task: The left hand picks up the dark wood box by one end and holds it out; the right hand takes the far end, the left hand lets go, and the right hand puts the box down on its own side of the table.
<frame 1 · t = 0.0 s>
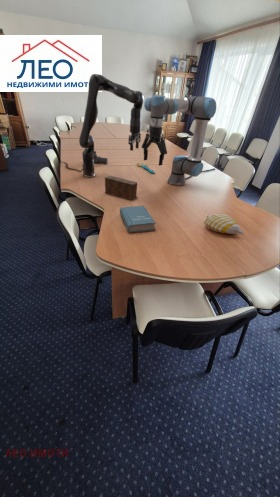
left hand: (134, 149, 167), 29 cm above the table, tool pointing down, fingers open, 8 cm apart
right hand: (152, 162, 146), 28 cm above the table, tool pointing down, fingers open, 13 cm apart
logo: (146, 168, 228), on the table
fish: (222, 230, 136), on the table
laser sight: (96, 163, 233), on the table
book: (136, 222, 137), on the table
box: (120, 195, 169), on the table
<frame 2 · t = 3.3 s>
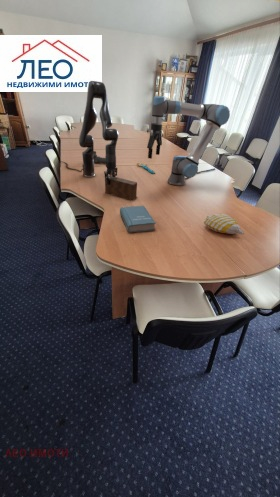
left hand: (111, 183, 167), 8 cm above the table, tool pointing down, fingers closed on box, 6 cm apart
right hand: (153, 156, 163), 27 cm above the table, tool pointing down, fingers open, 13 cm apart
box: (120, 195, 169), on the table, touching left hand
everything else where it was.
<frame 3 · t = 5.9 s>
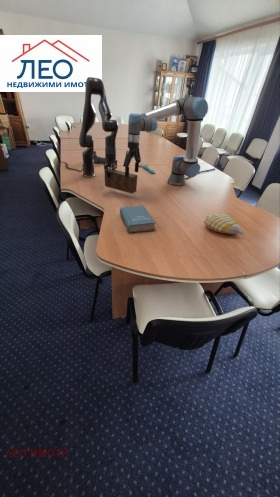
left hand: (110, 176, 164), 13 cm above the table, tool pointing down, fingers closed on box, 6 cm apart
right hand: (131, 174, 156), 18 cm above the table, tool pointing down, fingers open, 13 cm apart
box: (120, 188, 166), point 5 cm above the table, touching left hand
everything else where it was.
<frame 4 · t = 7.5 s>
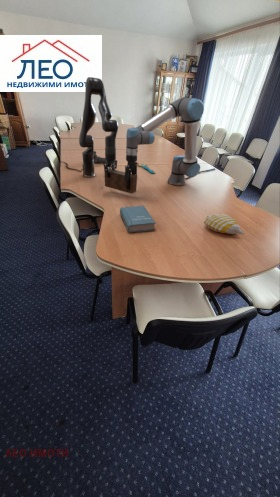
left hand: (110, 176, 164), 13 cm above the table, tool pointing down, fingers closed on box, 6 cm apart
right hand: (130, 187, 161), 8 cm above the table, tool pointing down, fingers closed on box, 6 cm apart
box: (120, 188, 166), point 5 cm above the table, touching left hand, right hand
everything else where it was.
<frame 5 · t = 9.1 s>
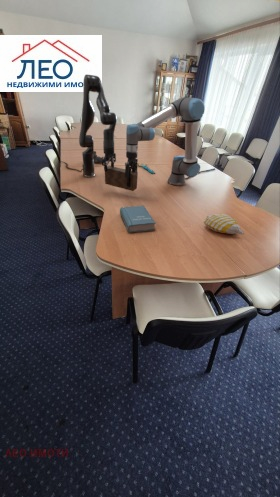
left hand: (109, 169, 162), 17 cm above the table, tool pointing down, fingers open, 8 cm apart
right hand: (131, 185, 160), 10 cm above the table, tool pointing down, fingers closed on box, 6 cm apart
box: (120, 186, 165), point 7 cm above the table, touching right hand
everything else where it was.
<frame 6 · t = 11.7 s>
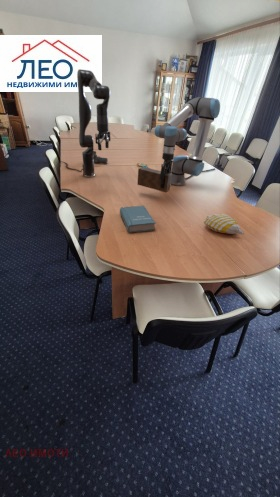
left hand: (103, 149, 155), 31 cm above the table, tool pointing down, fingers open, 8 cm apart
right hand: (164, 186, 160), 11 cm above the table, tool pointing down, fingers closed on box, 6 cm apart
box: (153, 187, 165), point 8 cm above the table, touching right hand
everything else where it was.
when the right hand's fingers open (4 cm above the table, at t = 16.2 s): box drops 1 cm, on the table.
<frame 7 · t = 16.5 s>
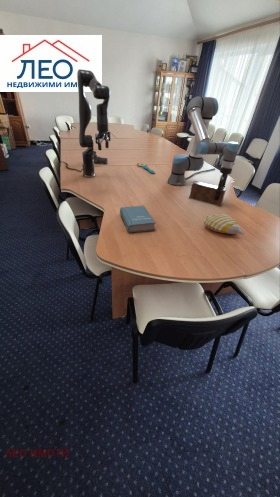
left hand: (103, 149, 155), 31 cm above the table, tool pointing down, fingers open, 8 cm apart
right hand: (218, 197, 164), 5 cm above the table, tool pointing down, fingers open, 9 cm apart
box: (205, 200, 170), on the table
everything else where it was.
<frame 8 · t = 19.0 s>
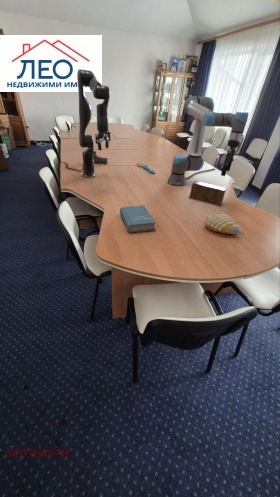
left hand: (103, 149, 155), 31 cm above the table, tool pointing down, fingers open, 8 cm apart
right hand: (225, 173, 154), 23 cm above the table, tool pointing down, fingers open, 13 cm apart
nothing on the table moved.
at the end: box inside the target area (8.5 cm from its centre), on the table; the left hand is holding nothing; the right hand is holding nothing; box at rest at the end (0.0 cm/s) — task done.
